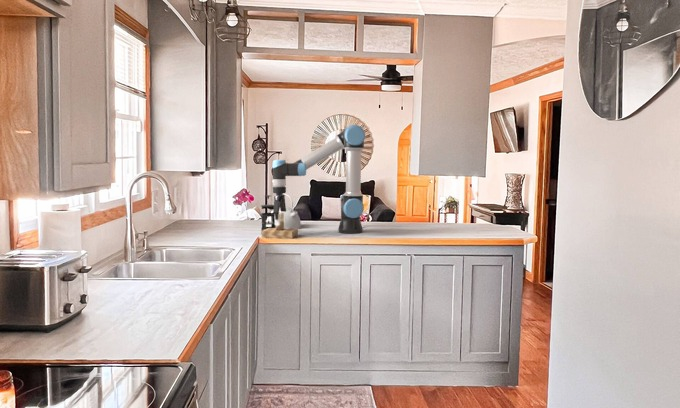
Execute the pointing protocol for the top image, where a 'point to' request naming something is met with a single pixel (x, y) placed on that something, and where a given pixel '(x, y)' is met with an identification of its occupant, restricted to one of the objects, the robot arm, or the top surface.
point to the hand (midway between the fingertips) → (280, 223)
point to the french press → (267, 216)
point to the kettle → (289, 217)
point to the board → (280, 233)
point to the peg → (281, 222)
